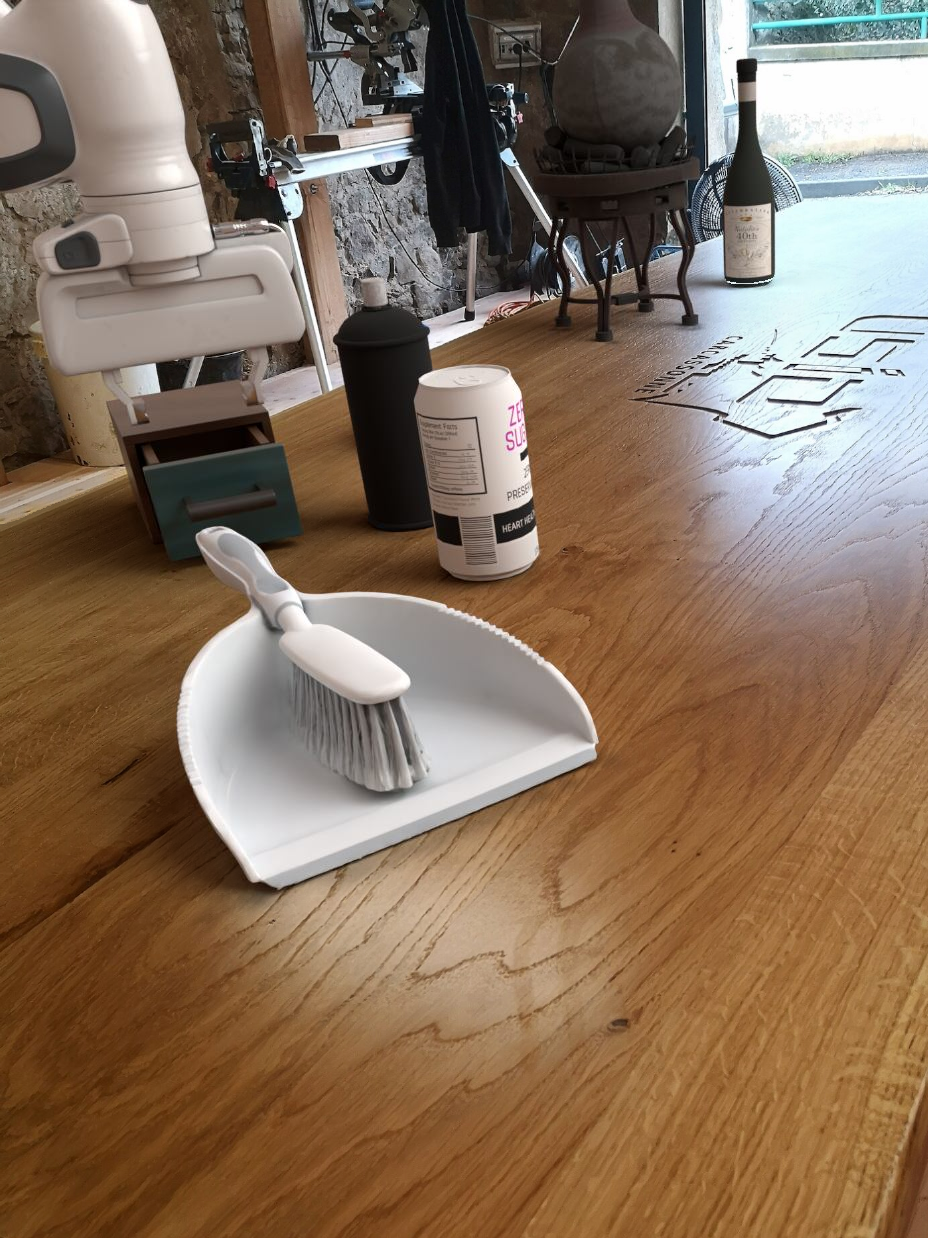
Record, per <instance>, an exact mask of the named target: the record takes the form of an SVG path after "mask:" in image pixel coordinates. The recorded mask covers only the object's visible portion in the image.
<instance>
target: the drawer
mask: <svg viewBox="0 0 928 1238" xmlns="http://www.w3.org/2000/svg"><path fill="white" fill-rule="evenodd" d="M138 447H139V450H140V454H141V457H142V461H143V464H144V467H143V472H144V475H145V478H146V482H147V485H148V489H149V492H150V496H151V499H152V503H153V506H154V509H155V513H156V516H157V520H158V523H159V527H160V530H161V533H162V537H163V540H164V542H163V543H164V548H165V550H166V553H167V557H168V560H169V562H171V563H172V562H176V561H181V560H188V559H192V558H196V557H200V556H202V557H203V555H202V553H201V551H200V549H199V546H198V544H197V542H196V534H197V533H199V532H201V531H202V530H203V529H207V528H211V527H219V526H222V527H226V528H229V529H232V530H233V531H235V532H237V533H238V534H240V535H242V536H244V537H246V538H247V539H249V540H250V541H252V542H253V543H254V544H256V545H258V544H259V545H260V544H263V543H269V542H273V541H279V540H283V539H289V538H293V537H298V536H303V535H304V531H303V528H302V527H303V526H302V523H301V518H300V514H299V510H298V505H297V500H296V498H295V497H296V496H295V492H294V487H293V482H292V478H291V473H290V470H289V466H288V461H287V457H286V452H285V447H284V444H283V443H282V442H281V441H278V442H275V443H272V444H270V442H269V441H268V440H267V439H266V437H265V436H264V435H263V434H262V433H261V431H260V430H259V429H258V428H257V427H256V425H255V424H254V423H253V424H247V425H241V426H236V427H230V428H224V429H218V430H213V431H207V432H201V433H196V434H190V435H184V436H179V437H173V438H167V439H162V440H156V441H150V442H145V443H139V444H138Z"/></svg>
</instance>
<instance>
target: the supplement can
mask: <svg viewBox="0 0 928 1238" xmlns="http://www.w3.org/2000/svg"><path fill="white" fill-rule="evenodd" d="M520 389H521V388H520V387H519V386H518V383H516V381H515V380H514V378H513V376H512V373H511V370H510V369H509V368H508V367H505V366H502V365H496V364H480V363H479V364H477V363H476V364H464V365H456V366H449V367H443V368H439V369H435V370H433V371H432V372H430V373H427V374H425V375H423V376H422V377H420V378H419V386H418V389H417V392H416V395H415V398H414V405H415V411H416V417H417V423H418V429H419V435H420V442H421V448H422V454H423V460H424V466H425V473H426V479H427V485H428V491H429V497H430V503H431V510H432V516H433V522H434V526H433V527H434V535H435V540H436V546H437V550H438V559H439V565H440V567H441V568H443V569H444V570H445V571H446V572H448V573H449V574H450V575H452V576H453V577H455V578H456V579H461V580H464V581H473V582H474V581H476V582H483V581H496V580H501V579H508V578H511V577H513V576H516V575H519V574H521V573H523V572H525V571H526V570H528V569H530V568H531V566H532V564H533V563H534V561H535V560H537V558H538V556H539V555H540V547H539V546H540V545H539V537H538V528H537V519H536V511H535V502H534V493H533V485H532V477H531V476H532V475H531V468H530V467H531V466H530V460H529V451H528V450H529V449H528V441H527V440H528V439H527V431H526V423H525V416H524V415H525V413H524V406H523V398H522V391H521V390H520Z"/></svg>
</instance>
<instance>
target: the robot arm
mask: <svg viewBox="0 0 928 1238" xmlns="http://www.w3.org/2000/svg"><path fill="white" fill-rule="evenodd" d="M177 83H178V82H177V80H176V76H175V72H174V69H173V66H172V61H171V58H170V56H169V52H168V49H167V45H166V43H165V40H164V37H163V35H162V32H161V28H160V26H159V23H158V22H157V18H156V16H155V14H154V13H153V11H152V9H151V6H149V4H148V2H147V1H146V0H20V2H18V4H17V5H16V6H15V4H13V3H12V2H11V0H0V194H21V193H25V192H30V191H33V190H39V189H44V188H47V187H51V186H53V185H57V184H74V183H75V185H76V187H77V189H78V192H79V195H80V199H81V203H82V207H83V211H82V212H81V213H80V214H78V215H76V216H74V217H72V218H68V219H67V220H65V221H63V222H61V223H60V224H58V225H54V226H53V227H51V228H49V229H47V230H45V231H43V232H41V233H40V234H38V235H36V236H35V238H34V239H33V241H32V253H33V256H34V259H35V261H36V264H37V265H38V266H39V268H40V269H41V270H43V271H42V272H41V274H40V275H39V277H38V278H37V279H38V280H37V283H36V288H35V298H36V307H37V313H38V314H37V315H38V319H39V325H40V331H41V335H42V339H43V344H44V348H45V351H46V355H47V359H48V362H49V365H50V367H51V369H53V370H54V371H55V372H57V373H58V374H60V375H61V376H62V377H66V378H69V377H75V376H81V375H87V374H94V373H100V374H101V377H102V381H103V383H104V386H105V387H106V388H107V389H108V390H109V391H110V392H111V393H112V394H113V395H114V396H115V397H116V399H119V400H120V401H121V402H122V403H123V404H124V405H125V407H126V411H127V414H128V418H129V421H130V423H131V425H132V426H137V425H142V424H147V423H150V421H149V417H148V415H147V413H146V411H147V410H146V407H145V403H144V401H143V399H142V398H136V399H131V398H130V397H131V396H129V394H128V393H127V392H126V391H125V390H124V389H123V387H121V386H120V385H119V384H123V383H124V379H123V376H122V373H121V369H126V368H127V369H128V368H133V367H140V366H147V365H153V364H159V363H167V362H172V361H179V360H184V359H193V358H198V357H205V356H211V355H218V354H225V353H230V352H237V351H243V350H245V353H246V357H247V358H248V359H250V361H251V362H252V366H251V370H250V373H249V377H248V380H242V381H241V382H239V383H240V387H241V390H242V392H243V395H242V396H243V400H244V403H245V405H246V406H247V407H249V406H255V405H261V404H262V405H265V398H264V393H263V389H262V383H263V380H264V377H265V374H266V370H267V367H268V365H269V362H270V360H269V354H268V350H267V347H269V346H278V345H282V344H283V345H284V344H290V343H295V342H299V341H300V340H301V339H302V337H303V336H304V333H305V331H306V328H307V327H306V325H307V324H306V321H305V316H304V313H303V308H302V306H301V301H300V298H299V295H298V292H297V289H296V287H295V286H296V285H295V283H294V281H293V278H292V276H291V274H292V272H293V270H294V265H295V259H294V253H293V248H292V242H291V240H290V237H289V235H288V234H287V232H286V231H285V230H284V229H283V228H282V227H281V226H280V225H278V224H275V223H273V222H269V221H268V219H266V218H260V217H258V218H257V217H256V218H250V219H249V220H245V221H243V220H242V221H224V222H214V223H210V220H209V215H208V211H207V207H206V203H205V197H204V193H203V189H202V185H201V181H200V177H199V175H198V173H197V170H196V168H195V166H194V165H193V163H192V161H191V158H190V155H189V153H188V152H189V151H188V149H187V144H186V118H185V117H186V116H185V112H184V107H183V104H182V103H183V102H182V100H181V96H180V92H179V87H178V84H177ZM270 229H271V230H274V231H272V232H270Z"/></svg>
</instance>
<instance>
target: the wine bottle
mask: <svg viewBox="0 0 928 1238" xmlns="http://www.w3.org/2000/svg"><path fill="white" fill-rule="evenodd" d="M735 70H736V71H735V72H736V74H737V75H736V76H737V104H738V105H737V109H738V111H737V112H738V128H737V129H738V131H737V140H736V144H735V149H734V151H733V152H734V153H733V156H732V160H731V163H730V165H729V168H728V172H727V176H726V178H725V183H724V187H723V193H722V204H721V205H722V208H721V209H722V210H721V211H722V246H723V247H722V249H723V279H724V280H725V279H726V281H730V282H736V283H754V282H759V281H765V280H768V279H771V278H773V277H775V276H774V275H776V198H775V191H774V186H773V185H774V184H773V180H772V177H771V174H770V172H769V168H768V165H767V163H766V160H765V158H764V155H763V151H762V149H761V145H760V139H759V135H758V127H757V125H758V124H757V72H758V59H757V58H756V57H755V58H754V57H749V58H739V59H736V61H735ZM773 279H774V278H773ZM726 281H725V282H726ZM772 281H773V280H771V281H769V282H764V283H758V284H731V283H727V285H730V286H732V287H739V288H740V287H745V288H746V287H747V288H749V287H759V286H764V285H768V284H770V283H771V282H772Z"/></svg>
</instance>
